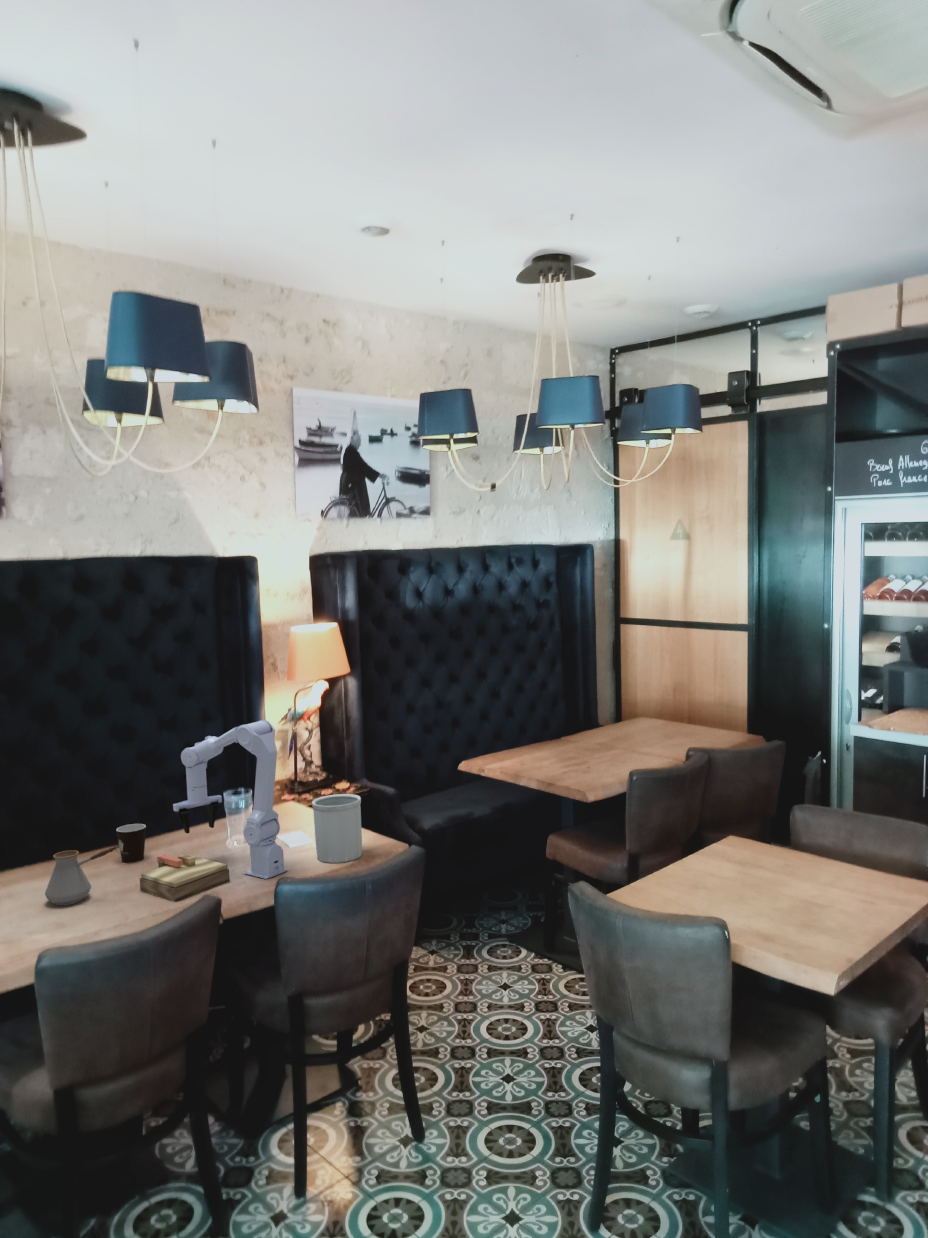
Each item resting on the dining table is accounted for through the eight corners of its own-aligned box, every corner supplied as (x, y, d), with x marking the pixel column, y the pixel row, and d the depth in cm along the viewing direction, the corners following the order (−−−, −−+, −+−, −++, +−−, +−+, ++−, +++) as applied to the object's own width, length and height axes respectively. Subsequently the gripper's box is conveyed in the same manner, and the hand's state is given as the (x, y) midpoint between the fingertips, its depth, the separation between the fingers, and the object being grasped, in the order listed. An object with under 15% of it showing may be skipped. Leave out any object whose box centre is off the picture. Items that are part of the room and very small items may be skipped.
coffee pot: (36, 908, 231) (33, 853, 230) (60, 892, 243) (57, 839, 242) (112, 908, 229) (109, 852, 228) (133, 892, 240) (130, 839, 240)
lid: (227, 868, 246) (226, 857, 246) (175, 887, 232) (174, 875, 232) (193, 859, 255) (192, 848, 255) (141, 877, 241) (140, 866, 241)
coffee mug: (148, 861, 267) (146, 829, 266) (118, 866, 264) (116, 833, 263) (147, 850, 278) (145, 820, 277) (118, 855, 275) (116, 823, 274)
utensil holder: (305, 856, 266) (302, 800, 265) (346, 845, 276) (343, 790, 275) (331, 867, 255) (329, 808, 254) (373, 855, 265) (370, 798, 264)
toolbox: (229, 881, 247) (228, 860, 246) (175, 901, 232) (174, 880, 232) (191, 870, 257) (190, 851, 257) (136, 889, 242) (135, 869, 242)
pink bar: (183, 865, 246) (183, 859, 246) (176, 867, 244) (176, 861, 244) (164, 860, 251) (164, 854, 251) (157, 862, 249) (156, 856, 249)
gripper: (214, 779, 270) (216, 822, 271) (168, 788, 261) (171, 832, 262) (223, 783, 265) (226, 826, 266) (177, 792, 256) (179, 837, 257)
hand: (199, 830), depth 264 cm, fingers open, 7 cm apart
